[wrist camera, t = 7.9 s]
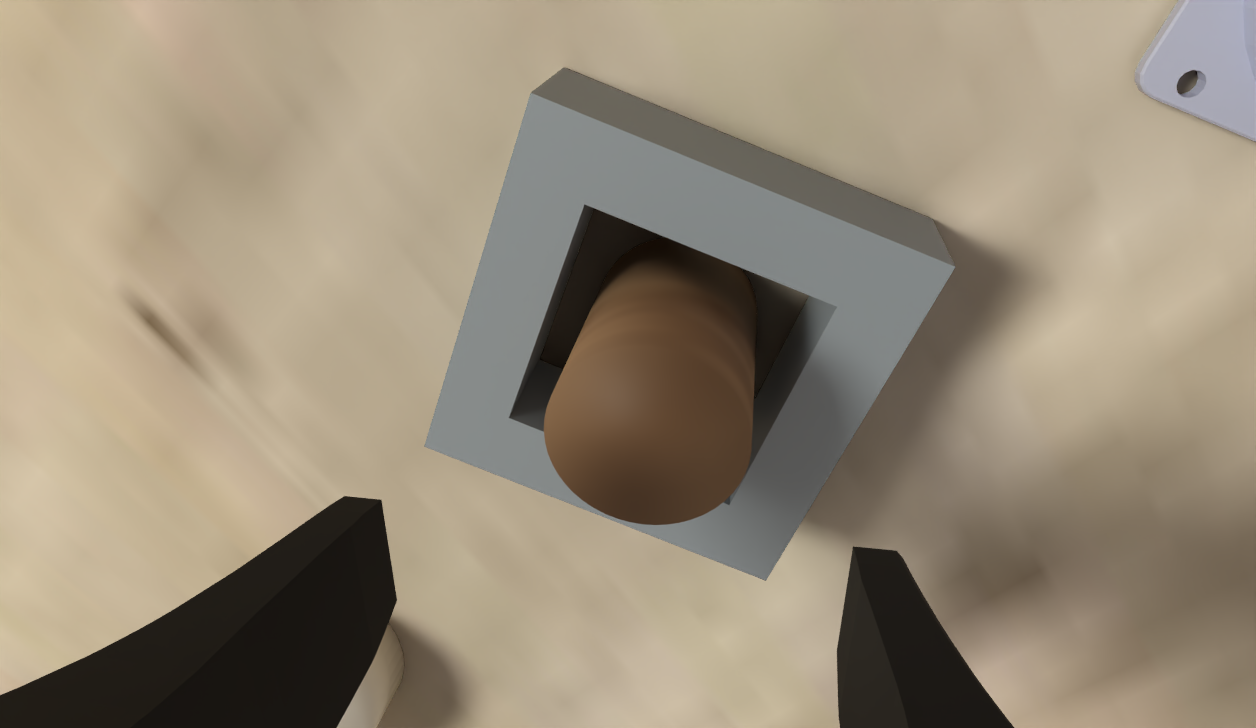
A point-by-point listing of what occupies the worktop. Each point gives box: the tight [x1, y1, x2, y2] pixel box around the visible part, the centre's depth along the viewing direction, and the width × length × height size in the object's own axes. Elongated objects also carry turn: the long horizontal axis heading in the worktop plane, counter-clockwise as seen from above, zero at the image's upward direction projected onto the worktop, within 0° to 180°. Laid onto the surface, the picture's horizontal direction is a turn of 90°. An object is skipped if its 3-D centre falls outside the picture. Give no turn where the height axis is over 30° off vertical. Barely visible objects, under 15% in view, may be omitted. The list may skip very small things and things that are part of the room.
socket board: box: [424, 68, 955, 581], centre depth 21 cm, size 9×9×3 cm
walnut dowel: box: [544, 238, 757, 525], centre depth 19 cm, size 4×4×6 cm
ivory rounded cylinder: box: [337, 624, 404, 728], centre depth 29 cm, size 6×6×3 cm
